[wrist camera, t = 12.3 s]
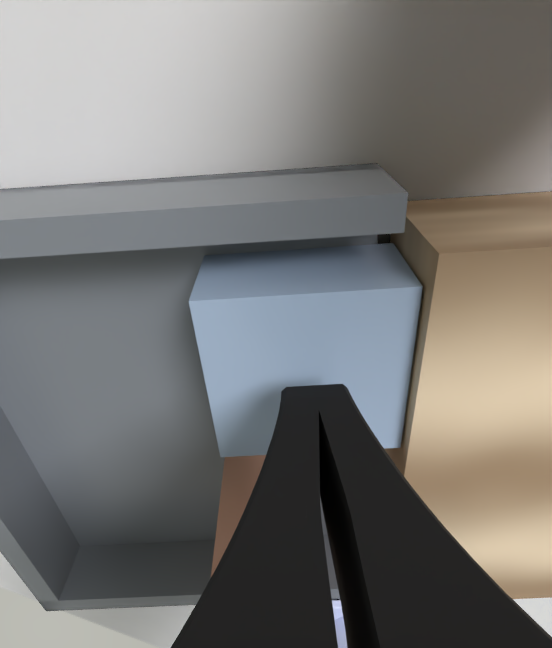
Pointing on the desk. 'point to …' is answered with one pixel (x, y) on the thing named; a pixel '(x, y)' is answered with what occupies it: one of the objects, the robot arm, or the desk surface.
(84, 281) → the tray
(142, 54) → the desk surface
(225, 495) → the terracotta tile
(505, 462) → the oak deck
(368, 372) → the light blue square block
